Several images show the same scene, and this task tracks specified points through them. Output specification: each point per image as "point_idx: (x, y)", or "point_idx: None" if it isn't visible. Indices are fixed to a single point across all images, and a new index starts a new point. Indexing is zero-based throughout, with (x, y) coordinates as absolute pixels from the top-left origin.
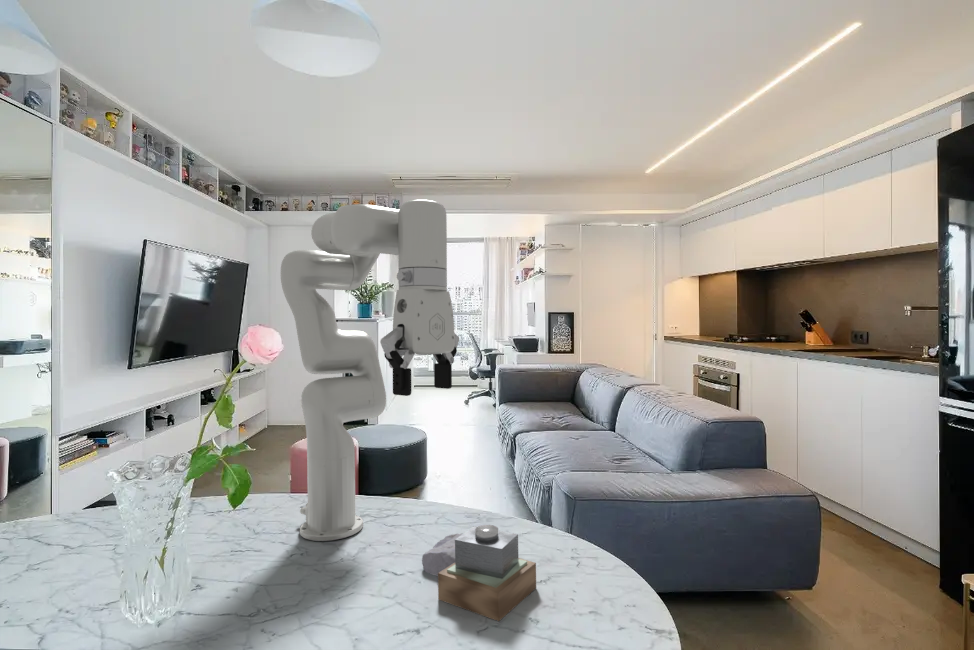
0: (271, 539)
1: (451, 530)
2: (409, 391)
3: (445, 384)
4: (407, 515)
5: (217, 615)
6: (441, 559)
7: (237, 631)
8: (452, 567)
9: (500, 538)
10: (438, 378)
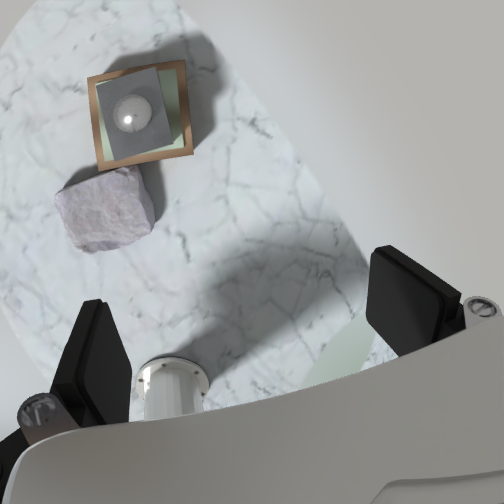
0: (231, 397)
1: (57, 286)
2: (392, 248)
3: (109, 325)
4: None
5: (342, 293)
6: (143, 201)
7: (348, 257)
8: (174, 146)
9: (125, 93)
10: (120, 378)
